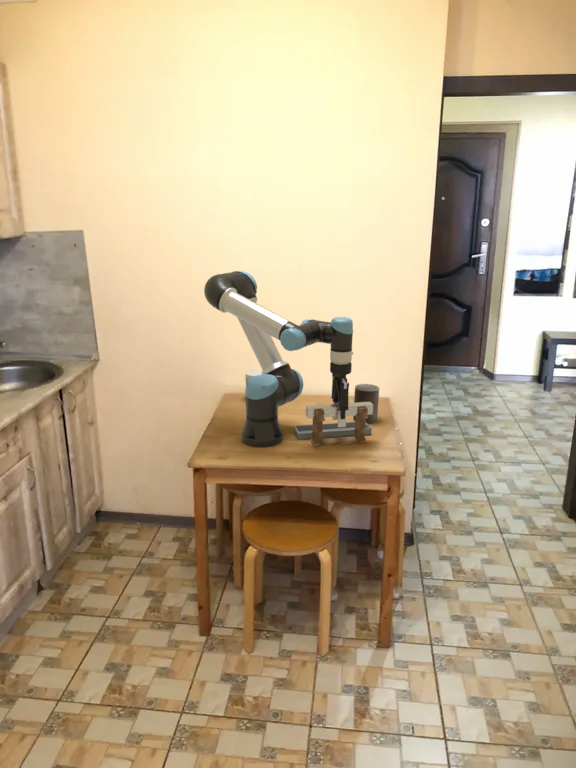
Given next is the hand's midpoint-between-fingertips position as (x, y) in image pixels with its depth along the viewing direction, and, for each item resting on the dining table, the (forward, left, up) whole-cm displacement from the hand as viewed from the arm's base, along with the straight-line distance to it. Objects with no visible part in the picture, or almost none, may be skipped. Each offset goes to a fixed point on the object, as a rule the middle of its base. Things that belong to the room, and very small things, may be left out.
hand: (339, 423), depth 222 cm
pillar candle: (+17, +21, -8) cm, 28 cm away
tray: (0, +9, -8) cm, 12 cm away
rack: (0, 0, -8) cm, 8 cm away
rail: (0, 0, +3) cm, 3 cm away
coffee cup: (-23, +54, -8) cm, 59 cm away
